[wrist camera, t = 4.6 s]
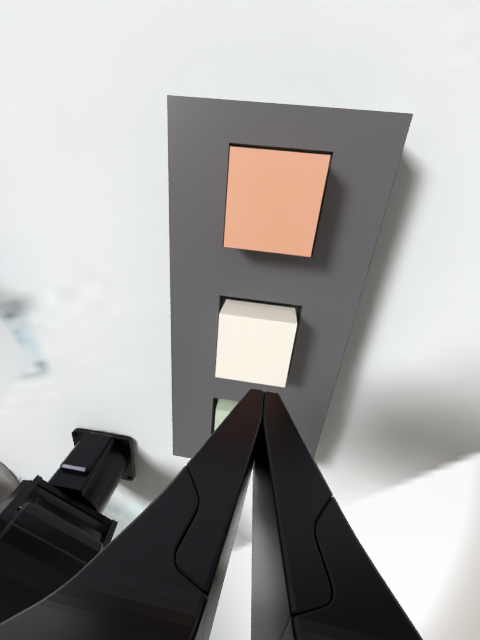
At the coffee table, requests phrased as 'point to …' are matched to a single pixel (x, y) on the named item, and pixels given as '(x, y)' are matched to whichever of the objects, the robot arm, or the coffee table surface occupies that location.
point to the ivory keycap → (255, 342)
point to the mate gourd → (6, 483)
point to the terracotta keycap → (274, 200)
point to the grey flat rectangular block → (266, 267)
